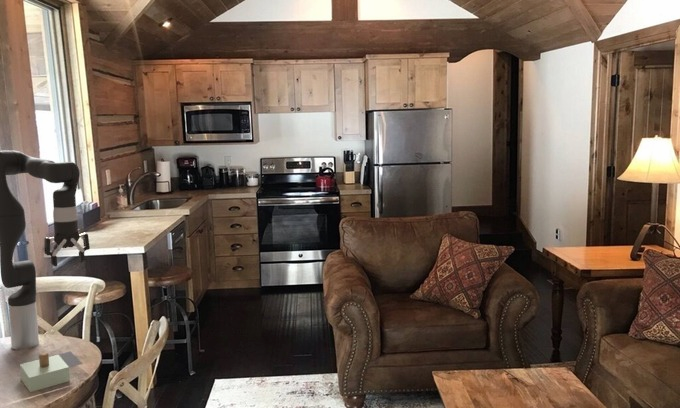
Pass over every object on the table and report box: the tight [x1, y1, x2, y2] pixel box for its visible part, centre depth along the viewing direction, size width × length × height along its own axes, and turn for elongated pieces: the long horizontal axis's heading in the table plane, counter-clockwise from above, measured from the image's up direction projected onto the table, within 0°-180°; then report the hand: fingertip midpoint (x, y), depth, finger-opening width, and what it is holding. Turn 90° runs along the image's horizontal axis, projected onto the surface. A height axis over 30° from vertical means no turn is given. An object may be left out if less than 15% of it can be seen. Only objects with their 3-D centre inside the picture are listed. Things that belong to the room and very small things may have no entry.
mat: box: [29, 351, 83, 368], centre depth 196 cm, size 14×14×1 cm
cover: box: [19, 352, 71, 393], centre depth 182 cm, size 12×12×9 cm
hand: (68, 264), depth 194 cm, fingers open, 8 cm apart
